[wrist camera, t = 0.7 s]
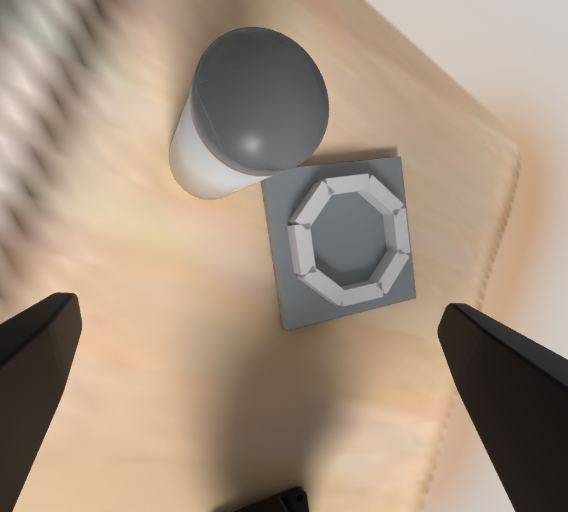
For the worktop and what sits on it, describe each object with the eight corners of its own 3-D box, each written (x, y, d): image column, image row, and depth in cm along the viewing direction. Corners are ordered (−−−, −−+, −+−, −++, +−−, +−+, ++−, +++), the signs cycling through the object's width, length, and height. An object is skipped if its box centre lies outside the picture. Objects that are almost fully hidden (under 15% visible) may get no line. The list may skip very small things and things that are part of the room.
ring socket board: (409, 296, 29) (428, 300, 27) (282, 327, 25) (293, 335, 24) (393, 158, 28) (412, 152, 26) (259, 172, 24) (269, 167, 22)
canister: (252, 195, 24) (336, 166, 14) (175, 205, 23) (206, 180, 12) (241, 118, 24) (319, 28, 13) (161, 122, 22) (181, 24, 12)
